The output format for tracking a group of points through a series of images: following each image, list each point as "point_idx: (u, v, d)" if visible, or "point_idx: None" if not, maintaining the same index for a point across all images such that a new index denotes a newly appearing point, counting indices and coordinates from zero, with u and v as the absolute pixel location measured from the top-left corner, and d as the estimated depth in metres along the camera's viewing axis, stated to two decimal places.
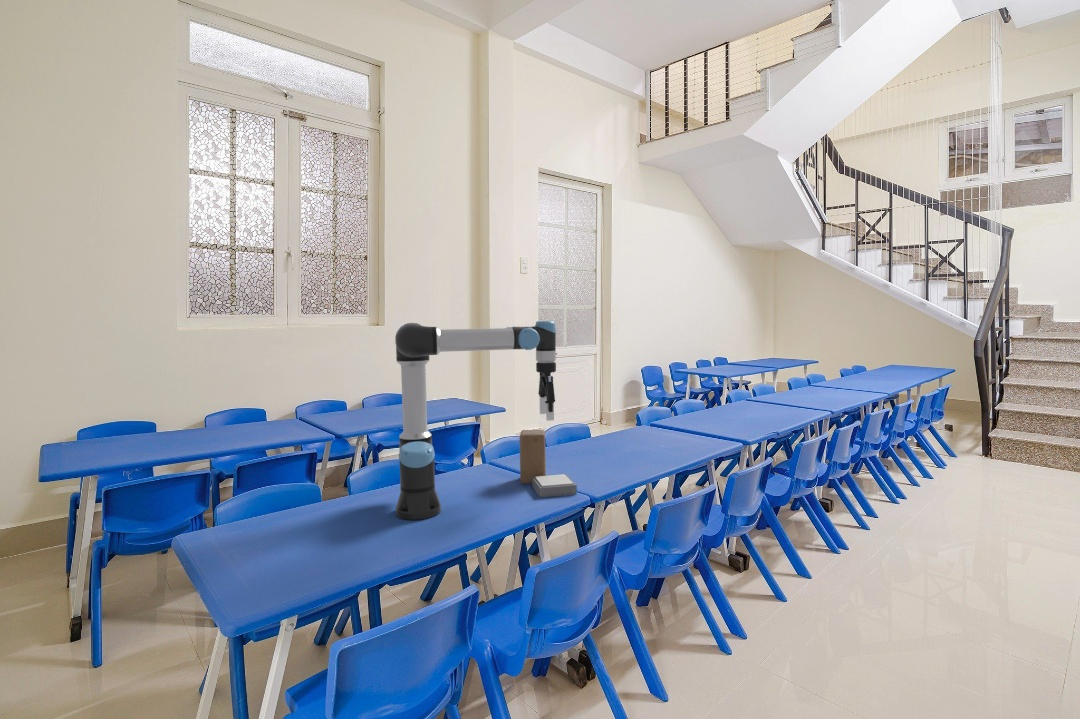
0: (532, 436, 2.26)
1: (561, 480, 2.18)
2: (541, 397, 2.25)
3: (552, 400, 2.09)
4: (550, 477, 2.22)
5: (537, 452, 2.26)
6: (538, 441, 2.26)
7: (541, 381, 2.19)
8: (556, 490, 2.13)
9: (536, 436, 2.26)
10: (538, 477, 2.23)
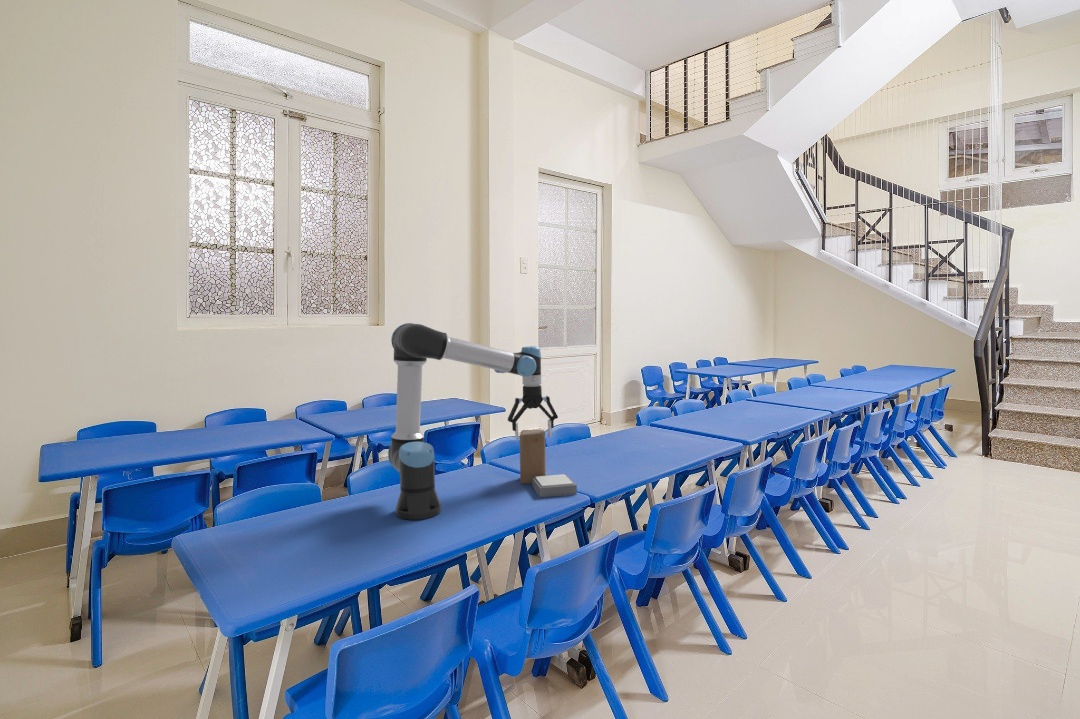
0: (532, 436, 2.26)
1: (561, 480, 2.18)
2: (548, 420, 2.32)
3: (508, 419, 2.27)
4: (550, 477, 2.22)
5: (537, 452, 2.26)
6: (538, 441, 2.26)
7: None
8: (556, 490, 2.13)
9: (536, 436, 2.26)
10: (538, 477, 2.23)
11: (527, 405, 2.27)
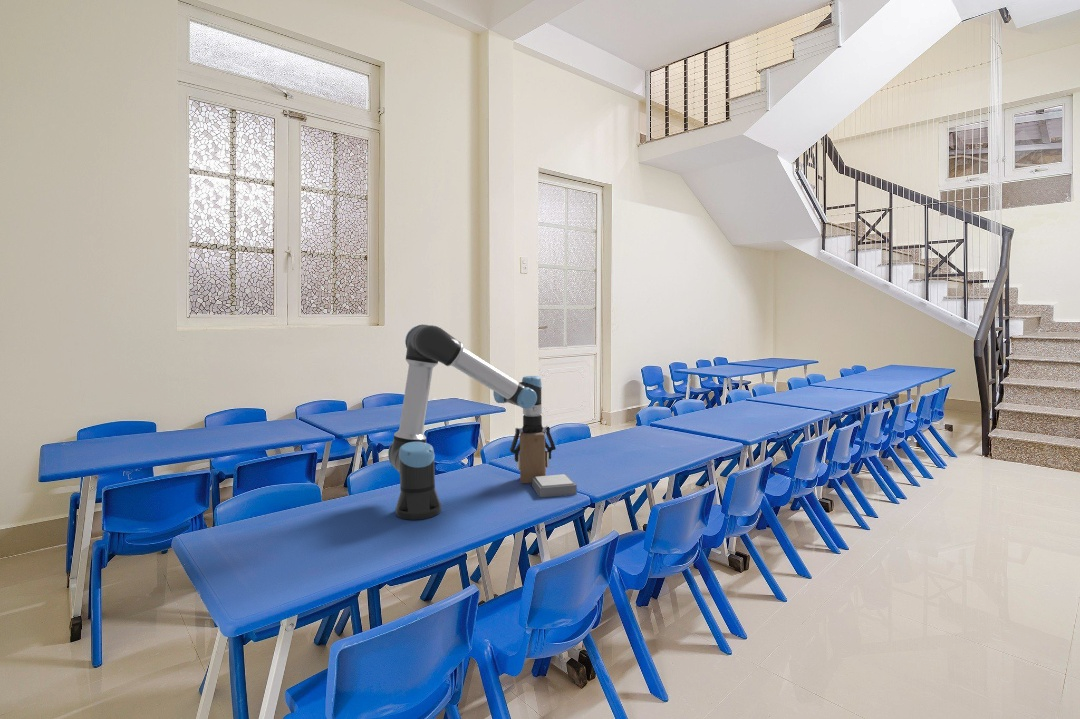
0: (532, 436, 2.26)
1: (561, 480, 2.18)
2: None
3: (510, 450, 2.29)
4: (550, 477, 2.22)
5: (537, 452, 2.26)
6: (539, 441, 2.26)
7: None
8: (556, 490, 2.13)
9: (536, 436, 2.26)
10: (538, 477, 2.23)
11: None
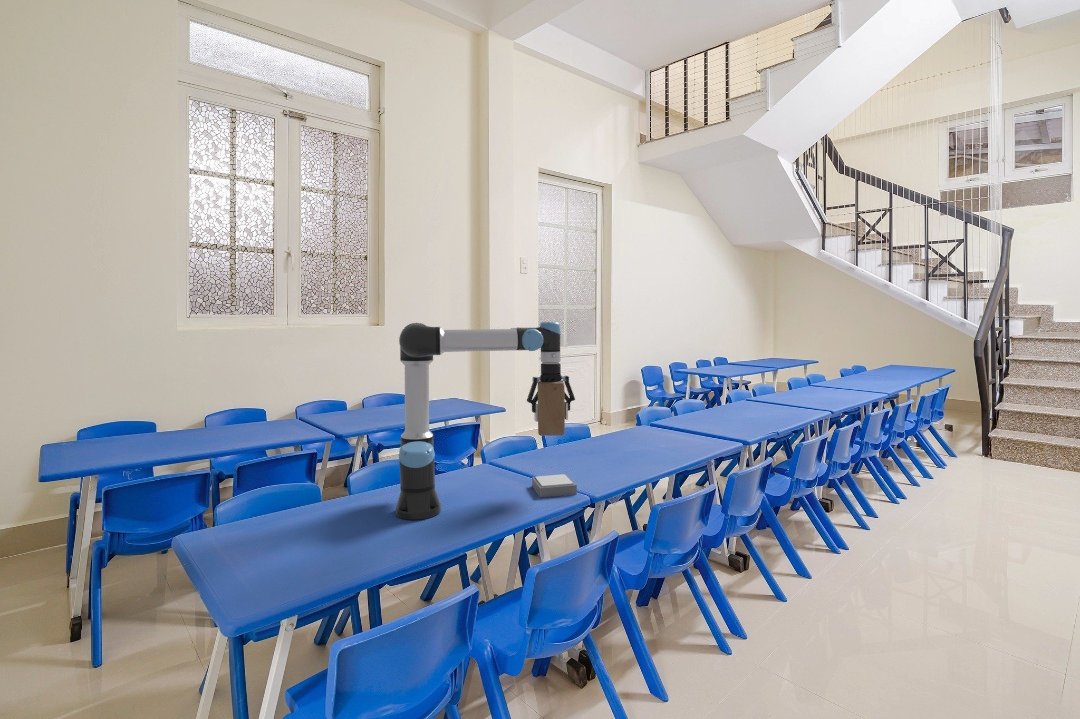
0: (551, 384, 2.12)
1: (561, 480, 2.18)
2: (565, 402, 2.20)
3: (527, 400, 2.15)
4: (550, 477, 2.22)
5: (556, 401, 2.13)
6: (558, 390, 2.12)
7: None
8: (556, 490, 2.13)
9: (555, 384, 2.12)
10: (538, 477, 2.23)
11: None
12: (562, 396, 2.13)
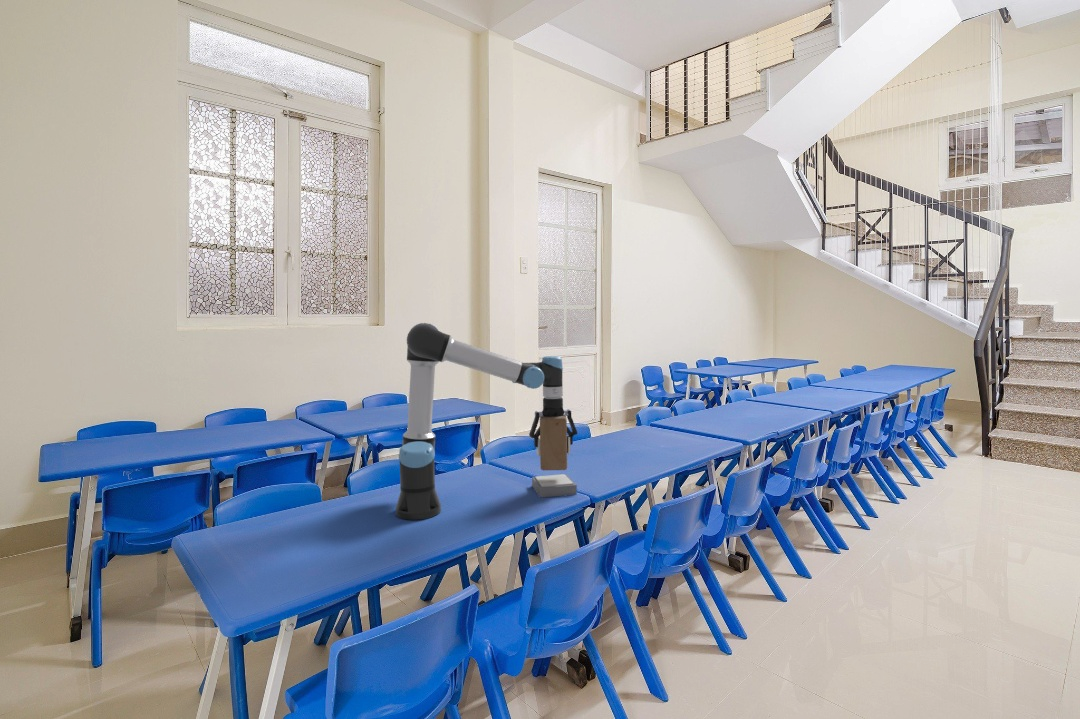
0: (553, 420, 2.12)
1: (561, 480, 2.18)
2: (567, 436, 2.20)
3: (530, 435, 2.15)
4: (550, 477, 2.22)
5: (559, 437, 2.13)
6: (560, 425, 2.12)
7: None
8: (556, 490, 2.13)
9: (557, 420, 2.12)
10: (538, 477, 2.23)
11: None
12: (564, 431, 2.13)
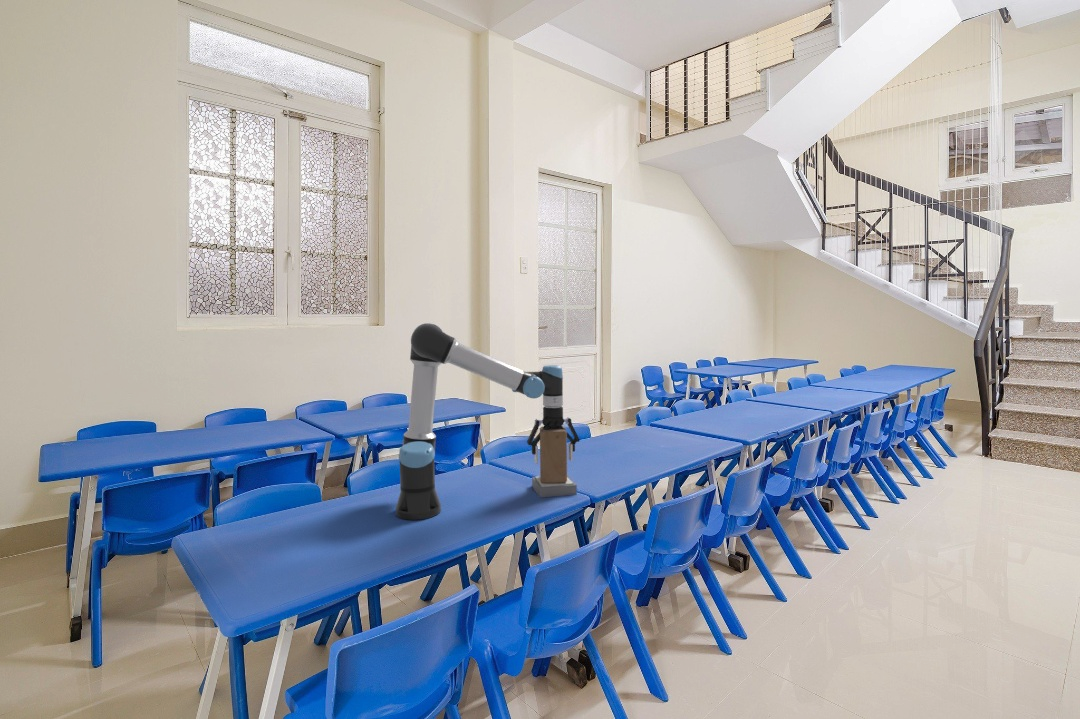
0: (553, 433, 2.13)
1: None
2: (570, 443, 2.20)
3: (527, 442, 2.15)
4: None
5: (559, 449, 2.13)
6: (560, 438, 2.13)
7: None
8: (556, 490, 2.13)
9: (557, 433, 2.13)
10: (538, 477, 2.23)
11: (548, 427, 2.15)
12: (564, 444, 2.13)
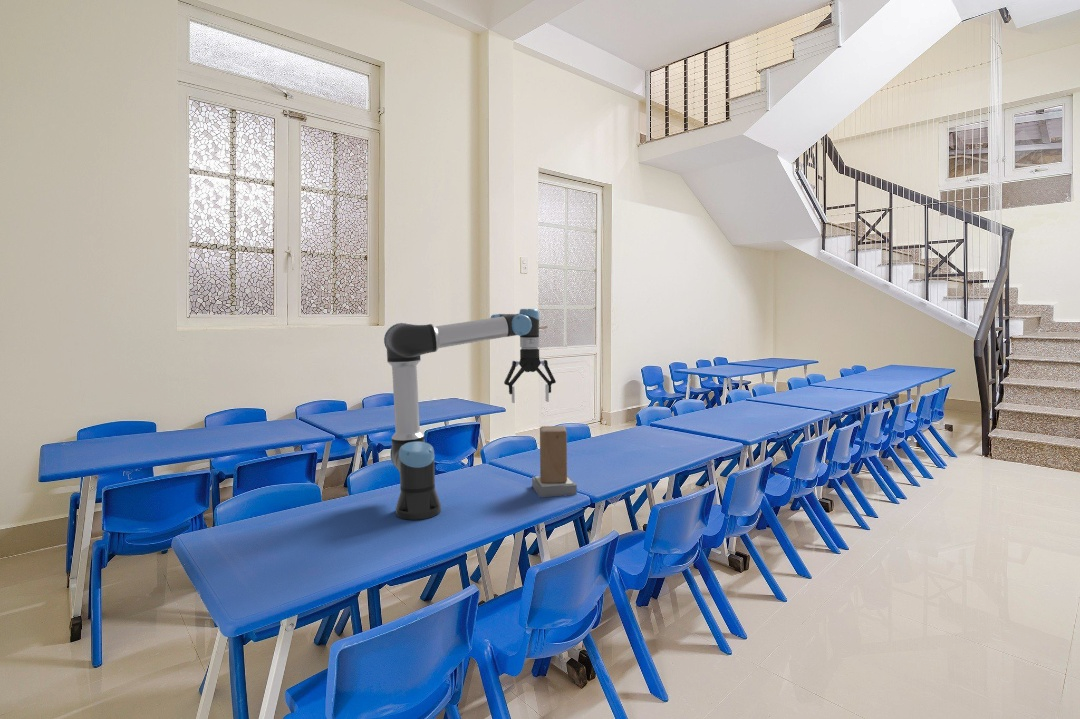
0: (553, 433, 2.13)
1: None
2: (546, 384, 2.28)
3: (504, 382, 2.23)
4: None
5: (559, 449, 2.13)
6: (560, 438, 2.13)
7: None
8: (556, 490, 2.13)
9: (557, 433, 2.13)
10: (538, 477, 2.23)
11: (524, 368, 2.23)
12: (564, 444, 2.13)
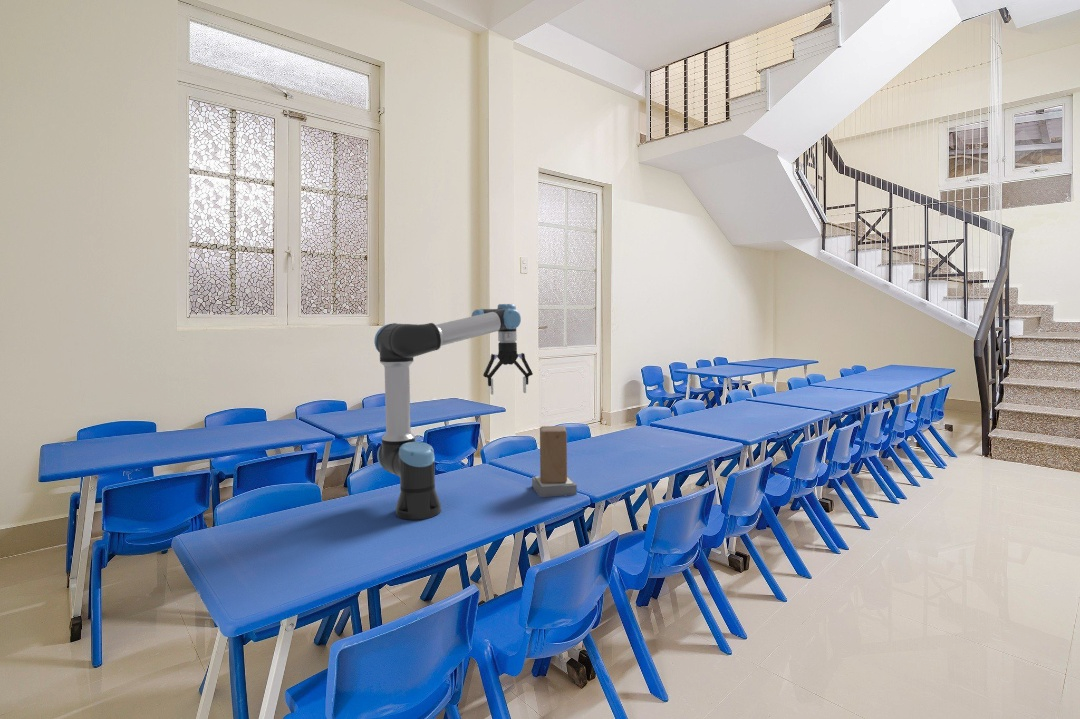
0: (553, 433, 2.13)
1: None
2: None
3: (483, 375, 2.33)
4: None
5: (559, 449, 2.13)
6: (560, 438, 2.13)
7: None
8: (556, 490, 2.13)
9: (557, 433, 2.13)
10: (538, 477, 2.23)
11: (502, 361, 2.33)
12: (564, 444, 2.13)
